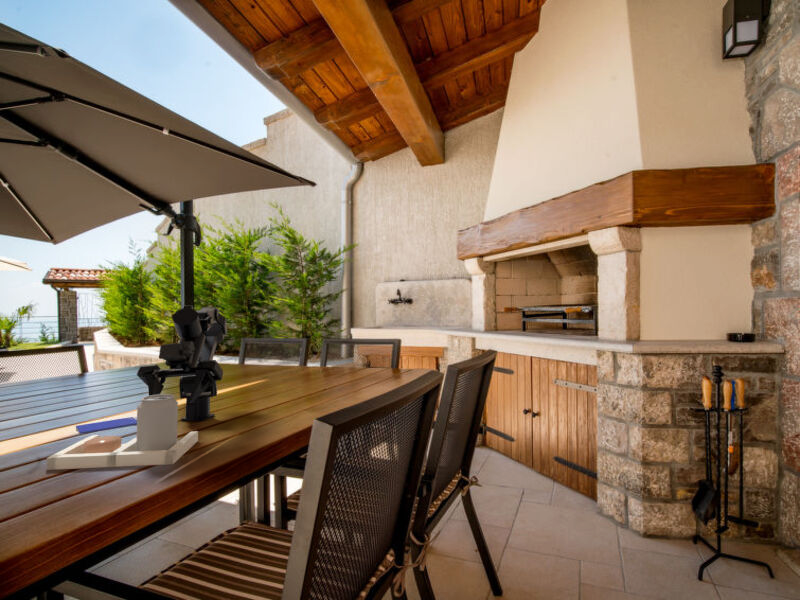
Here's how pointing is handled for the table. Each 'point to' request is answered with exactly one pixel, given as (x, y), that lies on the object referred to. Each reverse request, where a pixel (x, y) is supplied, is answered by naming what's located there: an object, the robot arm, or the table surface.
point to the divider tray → (118, 455)
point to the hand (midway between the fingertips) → (170, 403)
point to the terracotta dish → (102, 444)
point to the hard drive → (106, 425)
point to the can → (157, 423)
